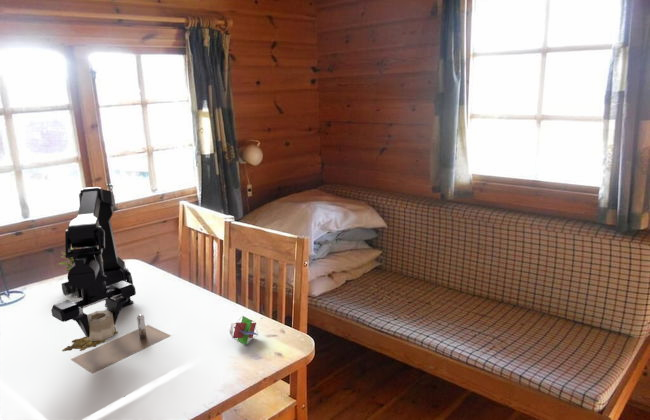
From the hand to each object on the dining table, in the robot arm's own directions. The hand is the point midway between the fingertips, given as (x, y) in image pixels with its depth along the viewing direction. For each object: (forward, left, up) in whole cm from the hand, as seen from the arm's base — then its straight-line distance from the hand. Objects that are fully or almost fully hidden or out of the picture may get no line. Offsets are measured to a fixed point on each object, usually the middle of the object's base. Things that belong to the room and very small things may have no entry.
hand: (100, 331), depth 124 cm
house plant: (-19, -50, -8) cm, 54 cm away
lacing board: (-5, 0, -8) cm, 9 cm away
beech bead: (0, 0, -1) cm, 1 cm away
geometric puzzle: (-27, +23, -8) cm, 36 cm away
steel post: (-11, 0, -7) cm, 13 cm away
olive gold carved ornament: (-2, -11, -9) cm, 14 cm away
